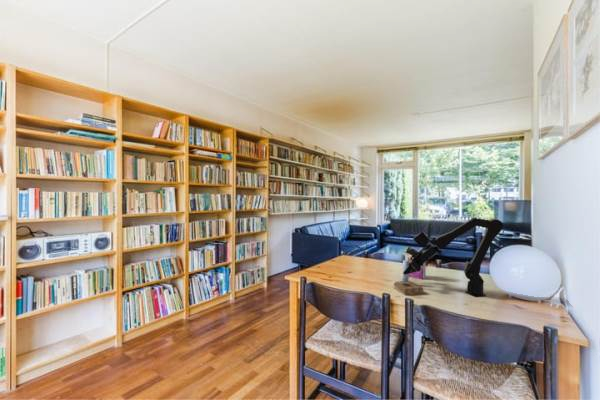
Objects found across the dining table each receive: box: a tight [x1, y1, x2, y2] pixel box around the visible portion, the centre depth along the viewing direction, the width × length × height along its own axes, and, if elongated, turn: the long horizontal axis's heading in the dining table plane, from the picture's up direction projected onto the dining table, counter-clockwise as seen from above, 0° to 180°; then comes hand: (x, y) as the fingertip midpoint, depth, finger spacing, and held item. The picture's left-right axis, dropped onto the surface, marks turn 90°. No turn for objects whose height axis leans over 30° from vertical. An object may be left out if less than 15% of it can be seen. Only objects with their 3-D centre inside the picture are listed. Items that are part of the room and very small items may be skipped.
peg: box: [402, 259, 410, 282], centre depth 154 cm, size 3×3×13 cm
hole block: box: [393, 281, 424, 296], centre depth 143 cm, size 10×10×4 cm
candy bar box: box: [404, 248, 427, 280], centre depth 168 cm, size 11×5×16 cm, turn 47°
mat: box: [395, 280, 422, 287], centre depth 155 cm, size 10×10×1 cm
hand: (404, 271), depth 154 cm, fingers open, 9 cm apart
